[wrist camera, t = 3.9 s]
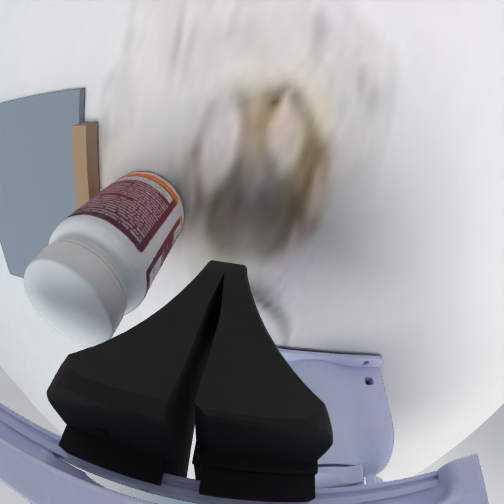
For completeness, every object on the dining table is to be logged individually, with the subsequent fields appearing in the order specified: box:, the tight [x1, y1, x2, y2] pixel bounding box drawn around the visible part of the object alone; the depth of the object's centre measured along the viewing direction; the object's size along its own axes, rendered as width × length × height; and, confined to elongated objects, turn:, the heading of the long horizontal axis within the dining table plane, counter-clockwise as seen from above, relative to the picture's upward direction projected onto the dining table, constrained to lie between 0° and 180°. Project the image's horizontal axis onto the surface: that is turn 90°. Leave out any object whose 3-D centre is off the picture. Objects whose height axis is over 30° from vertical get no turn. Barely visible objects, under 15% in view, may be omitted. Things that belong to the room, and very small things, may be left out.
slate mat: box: [0, 88, 100, 278], centre depth 15 cm, size 11×14×1 cm
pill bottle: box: [24, 172, 184, 347], centre depth 12 cm, size 5×5×8 cm
